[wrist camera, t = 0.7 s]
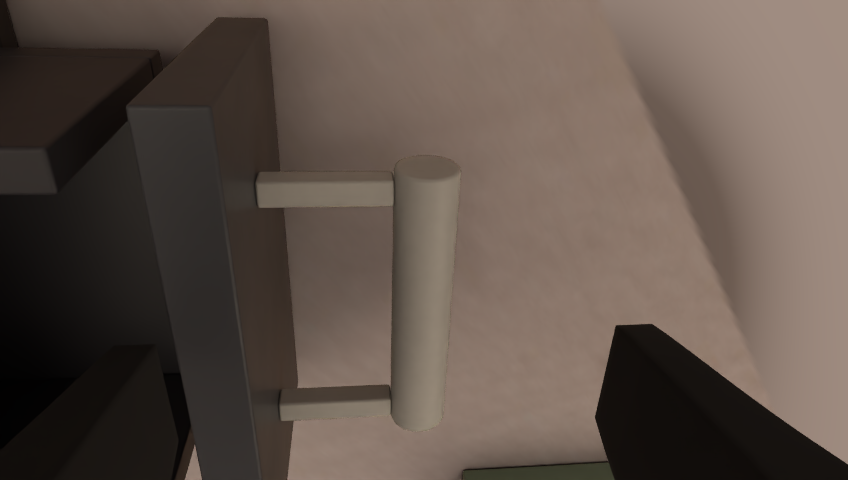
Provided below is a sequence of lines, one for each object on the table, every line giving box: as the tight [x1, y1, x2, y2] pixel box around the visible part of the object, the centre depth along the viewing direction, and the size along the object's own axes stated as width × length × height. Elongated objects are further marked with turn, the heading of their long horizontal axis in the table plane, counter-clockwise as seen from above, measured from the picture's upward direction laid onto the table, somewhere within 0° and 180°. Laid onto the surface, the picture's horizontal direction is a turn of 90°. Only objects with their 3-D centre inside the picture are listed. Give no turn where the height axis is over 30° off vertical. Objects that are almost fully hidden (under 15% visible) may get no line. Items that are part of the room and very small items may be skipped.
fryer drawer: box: [0, 17, 461, 480], centre depth 14 cm, size 17×11×7 cm
